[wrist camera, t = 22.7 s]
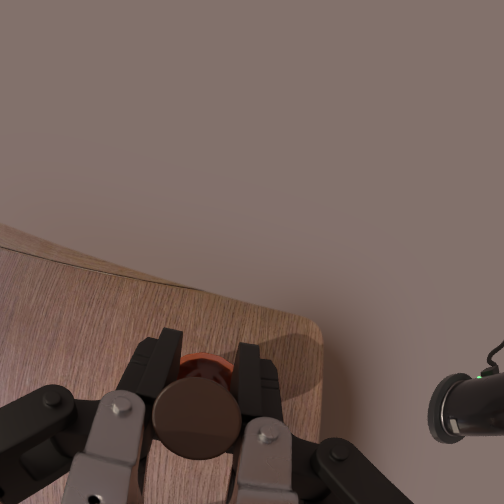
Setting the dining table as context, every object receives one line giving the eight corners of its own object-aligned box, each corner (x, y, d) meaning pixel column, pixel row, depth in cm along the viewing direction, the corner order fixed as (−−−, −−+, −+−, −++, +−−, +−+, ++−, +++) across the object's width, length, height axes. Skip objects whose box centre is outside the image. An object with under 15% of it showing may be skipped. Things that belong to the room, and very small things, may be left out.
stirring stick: (213, 380, 23) (232, 370, 7) (218, 405, 22) (250, 452, 6) (187, 384, 22) (143, 382, 6) (192, 409, 21) (161, 465, 5)
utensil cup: (229, 355, 30) (237, 346, 23) (243, 417, 28) (255, 427, 21) (165, 365, 29) (152, 358, 22) (177, 427, 26) (168, 441, 19)
